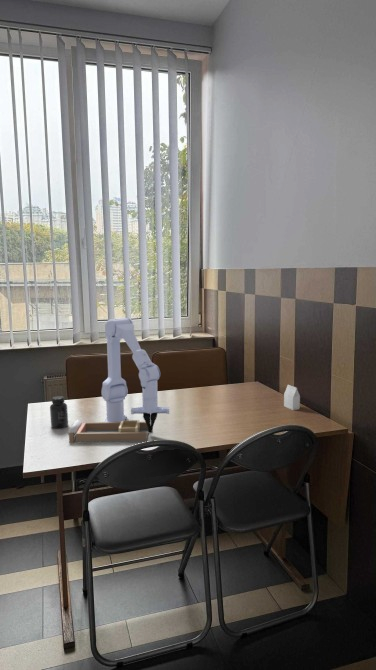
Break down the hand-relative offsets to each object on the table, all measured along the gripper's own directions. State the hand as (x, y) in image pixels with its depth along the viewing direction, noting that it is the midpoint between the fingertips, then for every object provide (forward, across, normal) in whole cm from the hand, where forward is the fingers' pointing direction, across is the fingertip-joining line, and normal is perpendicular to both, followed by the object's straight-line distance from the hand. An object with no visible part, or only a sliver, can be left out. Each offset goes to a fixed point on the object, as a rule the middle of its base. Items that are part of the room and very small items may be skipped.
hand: (150, 431), depth 184 cm
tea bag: (+2, +62, +34) cm, 71 cm away
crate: (+2, -8, 0) cm, 8 cm away
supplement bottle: (+2, -38, +12) cm, 40 cm away
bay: (+2, -16, 0) cm, 16 cm away
